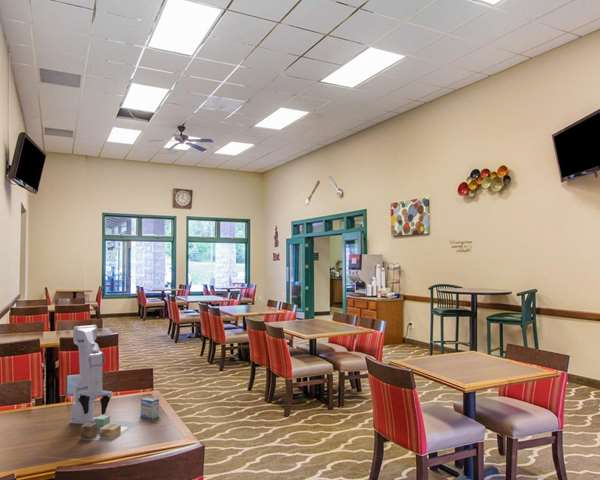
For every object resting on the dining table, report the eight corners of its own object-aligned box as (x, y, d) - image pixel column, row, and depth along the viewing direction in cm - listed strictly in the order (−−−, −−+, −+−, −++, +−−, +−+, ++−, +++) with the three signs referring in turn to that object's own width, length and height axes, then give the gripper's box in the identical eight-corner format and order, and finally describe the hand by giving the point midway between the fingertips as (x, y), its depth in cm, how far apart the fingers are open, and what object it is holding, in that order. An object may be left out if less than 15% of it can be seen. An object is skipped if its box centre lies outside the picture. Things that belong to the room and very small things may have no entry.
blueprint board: (79, 439, 193) (79, 438, 193) (110, 421, 215) (110, 420, 215) (111, 442, 190) (111, 441, 190) (139, 423, 212) (139, 422, 212)
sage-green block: (94, 430, 203) (94, 418, 203) (100, 426, 207) (100, 415, 207) (103, 430, 202) (103, 419, 202) (109, 427, 206) (109, 415, 206)
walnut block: (80, 438, 194) (80, 426, 194) (87, 434, 198) (87, 422, 198) (90, 438, 193) (90, 426, 193) (97, 434, 197) (97, 422, 198)
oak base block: (99, 437, 195) (99, 428, 195) (108, 431, 201) (108, 423, 201) (112, 438, 194) (112, 429, 194) (120, 432, 199) (120, 424, 200)
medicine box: (140, 417, 220) (140, 399, 220) (147, 414, 223) (147, 396, 224) (152, 420, 216) (152, 401, 216) (159, 417, 220) (159, 398, 220)
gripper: (73, 383, 194) (73, 416, 194) (106, 384, 193) (106, 417, 193) (82, 379, 201) (82, 410, 201) (114, 379, 200) (114, 411, 200)
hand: (94, 413), depth 197 cm, fingers open, 7 cm apart
